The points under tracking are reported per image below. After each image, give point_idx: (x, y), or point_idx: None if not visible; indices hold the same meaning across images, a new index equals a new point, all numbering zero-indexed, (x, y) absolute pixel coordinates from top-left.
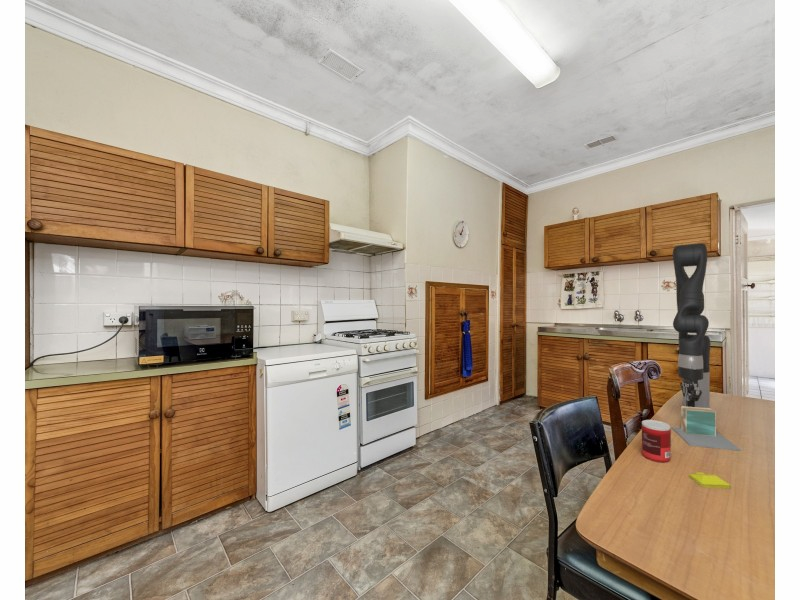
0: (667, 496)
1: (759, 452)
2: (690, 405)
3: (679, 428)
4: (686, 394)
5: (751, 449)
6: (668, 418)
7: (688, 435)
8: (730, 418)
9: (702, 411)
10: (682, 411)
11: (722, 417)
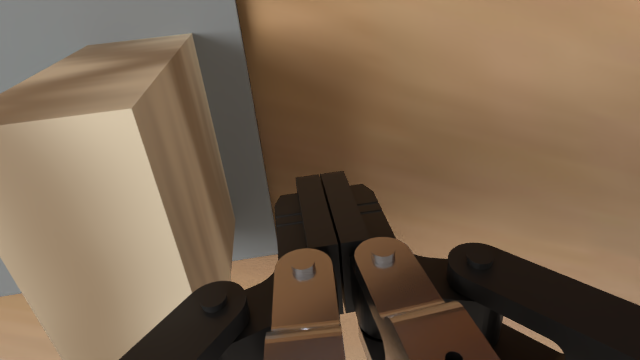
0: None
1: (19, 357)
2: (278, 235)
3: (211, 23)
4: (377, 317)
5: (46, 338)
6: (511, 4)
7: (40, 54)
8: (554, 346)
9: (34, 308)
10: (103, 91)
11: None
